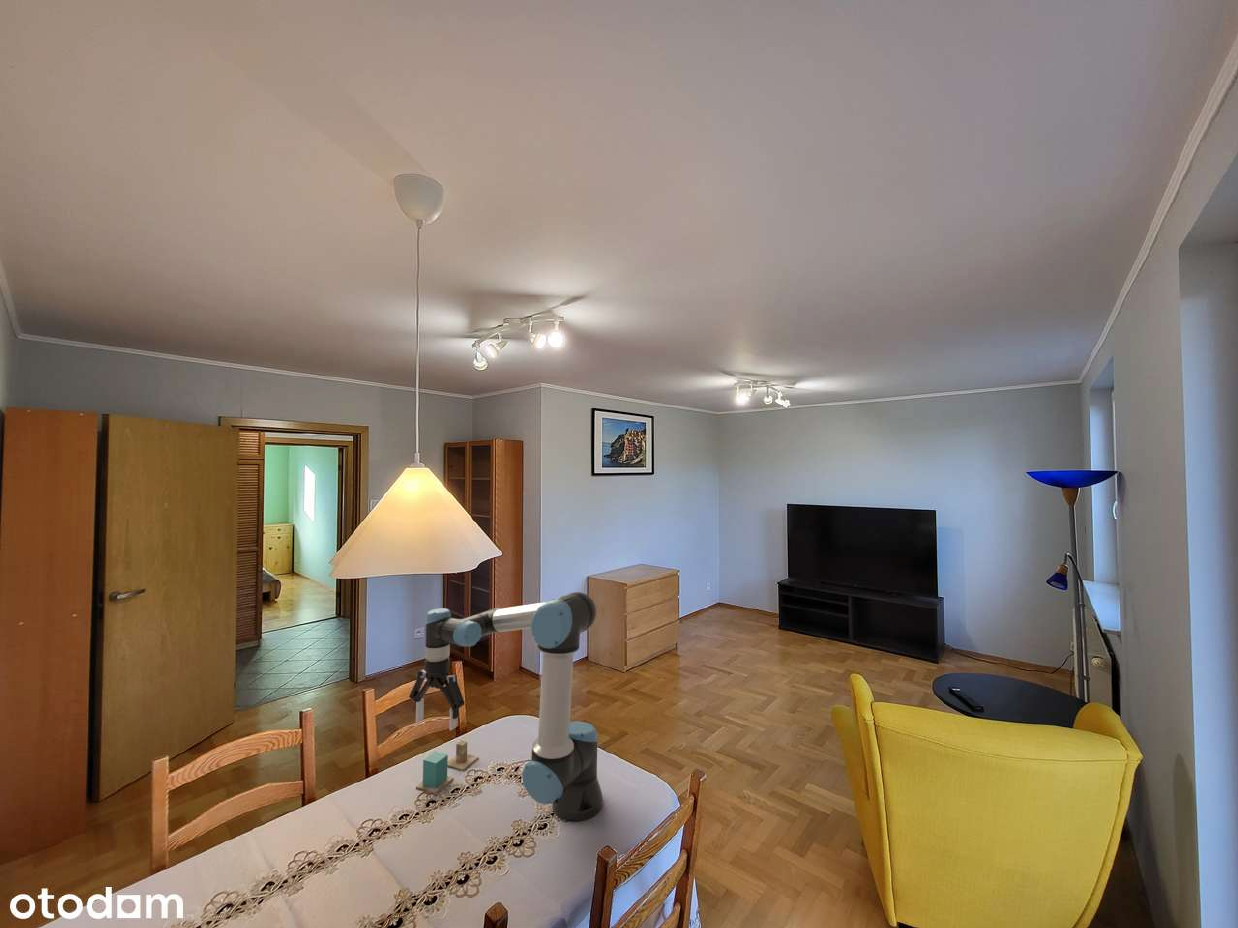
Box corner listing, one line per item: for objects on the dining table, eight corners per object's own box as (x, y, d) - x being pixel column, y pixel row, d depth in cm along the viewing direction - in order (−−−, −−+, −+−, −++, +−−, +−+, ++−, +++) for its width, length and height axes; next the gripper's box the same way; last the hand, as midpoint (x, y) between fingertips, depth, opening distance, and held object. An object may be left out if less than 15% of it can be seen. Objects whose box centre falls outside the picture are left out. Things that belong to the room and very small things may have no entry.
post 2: (478, 758, 169) (478, 739, 169) (463, 770, 161) (463, 750, 161) (459, 753, 172) (460, 734, 172) (444, 765, 164) (444, 746, 164)
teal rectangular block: (447, 779, 156) (447, 754, 156) (435, 788, 151) (436, 763, 151) (434, 775, 158) (434, 751, 158) (422, 784, 153) (423, 759, 153)
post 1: (453, 779, 157) (453, 758, 157) (435, 794, 149) (436, 772, 149) (433, 774, 159) (434, 753, 160) (415, 788, 152) (416, 766, 152)
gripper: (476, 658, 155) (475, 725, 154) (416, 649, 164) (414, 712, 163) (461, 667, 148) (459, 737, 147) (398, 656, 157) (397, 722, 156)
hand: (436, 724), depth 155 cm, fingers open, 13 cm apart
